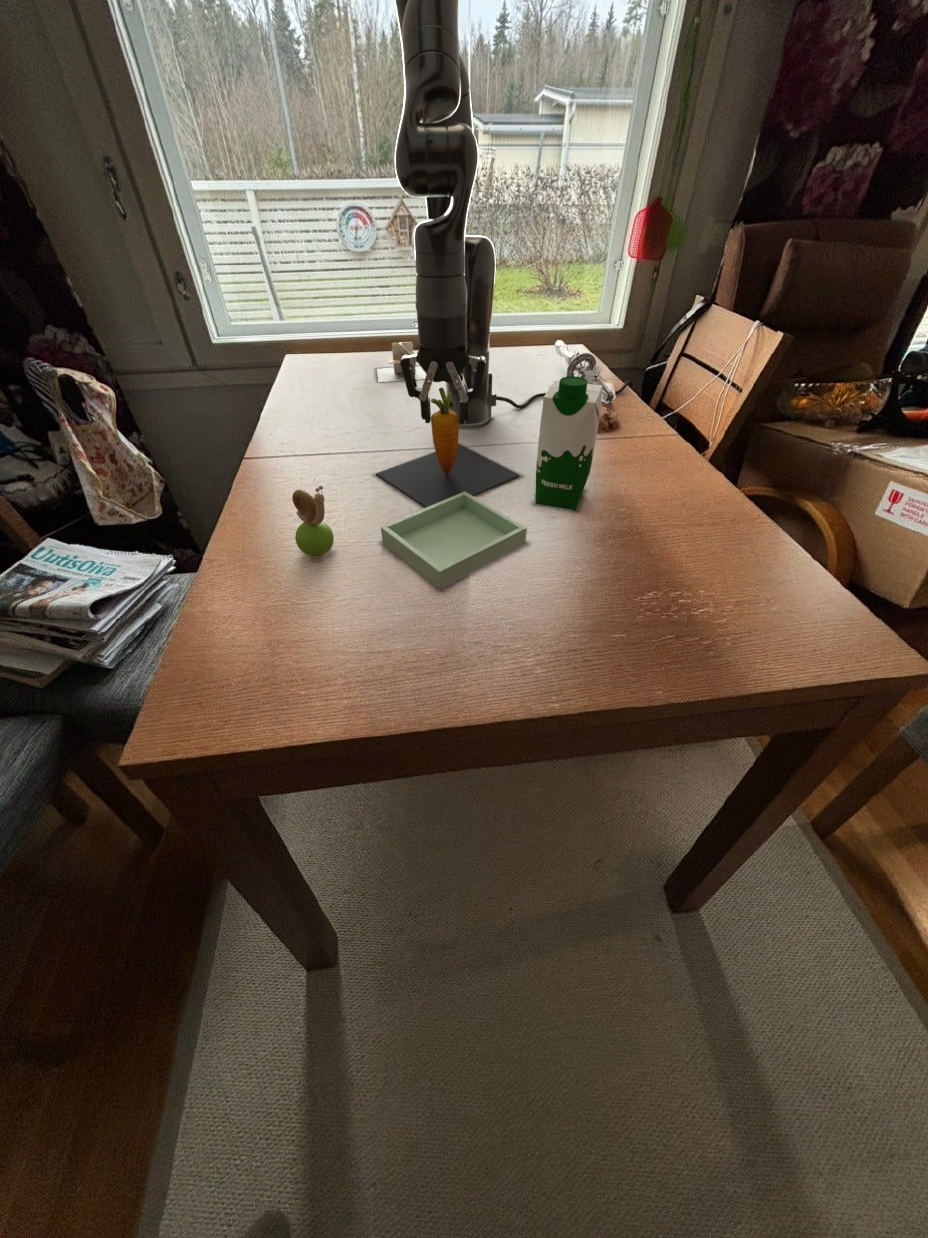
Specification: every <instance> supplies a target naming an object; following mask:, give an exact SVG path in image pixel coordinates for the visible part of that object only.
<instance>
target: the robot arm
mask: <svg viewBox="0 0 928 1238" xmlns="http://www.w3.org/2000/svg"><path fill="white" fill-rule="evenodd" d="M393 1H394V7H395V12H396V19H397V24H398V30H399V36H400V43H401V44H400V45H401V51H402V52H401V53H402V65H403V67H402V68H403V69H402V70H403V85H404V87H403V88H404V89H403V90H404V91H403V92H404V93H403V94H404V96H403V107H402V112H401V113H402V114H401V119H400V123H399V128H398V133H397V138H396V143H395V144H396V145H395V151H394V170H395V174H396V179H397V181H398V184H399V186H400V188H401V189H402V190H403V191H404V193H405V194H406V195H408V196H409V197H412V198H424V199H425V207H426V215H427V220H423V221H421V222H419V223H418V224H417V225H415V228H414V231H413V243H414V246H413V247H414V262H415V273H416V274H415V310H416V321H417V322H416V323H417V337H418V350H417V353H416V354H414V355H411V356H409V355H407V354H406V355H404V356H403V357H402V359H401V361H400V364H401V368H402V372H403V376H404V379H405V380H404V382H405V383H404V384H405V387H406V390H407V394H408V397H410V398H416V399H418V400H419V403H420V417H421V419H422V420H423V421H424V423H425V424H431V416H432V413H431V412H432V411H431V397H429V393H430V390H431V387H432V385H433V383H441V382H445V394H446V397H448V393H451V403H450V407H449V410H451V411H454V412H455V413H456V414H457V416H458V419H459V428H475V427H479V426H482V425H485V424H487V422H488V421H489V420H490V419H492V407H496V406H497V401H500V402H501V401H502V402H505V403H508V404H510V405H511V406H512V407H514V408H515V409H524V408H526V407H527V406H529V404H530V403H531V402H533V400H535V399H537V398H544V396H545V394H546V393H547V392H540V393H537V394H534V395H532V396H531V397H530V398H529V399H527V401H526V402H524V403H522V404H518V403H516V402H515V401H513V399H510V398H508V397H503V396H497V394H496V393H495V392H493V373H492V372H490V341H491V339H490V337H491V334H490V333H491V323H492V320H493V319H492V318H493V312H494V311H493V310H494V293H495V292H494V291H495V279H496V253H495V248H494V244H493V242H492V241H491V240H490V238H488V237H486V236H483V235H472V234H471V235H469V234H466V229H467V220H468V213H469V207H470V202H471V197H472V194H473V189H474V186H475V181H476V177H477V172H478V171H477V170H478V167H479V146H478V142H477V138H476V136H475V134H474V119H473V110H472V109H473V108H472V97H471V88H470V87H471V86H470V77H469V73H468V70H467V67H466V65H465V62H464V60H463V58H462V56H461V54H460V46H459V45H460V44H459V0H393ZM417 363H418V366H421V368H422V369H423V370H424V372H425V373H426V374H427V375H426V378H425V379H424V381H423V384H422V387H419V386H418V383H417V380H415V375H414V371H413V370H414V369H415V367H416V366H417ZM628 385H629V386H630V387H632V386H634V383H633V382H632V380H630V379H629V380H626V381H625V383H624V384H623V385H622V386H621V387H620V388H619V389H618V390H614V391H615V396H617V395H619V394H621V393H622V392H623V391H624V390H625V389H626V388H627V386H628Z"/></svg>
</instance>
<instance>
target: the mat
mask: <svg viewBox="0 0 928 1238" xmlns="http://www.w3.org/2000/svg"><path fill="white" fill-rule="evenodd" d="M375 476H376V477H378V478H379V479H381V480H383V481H384V482H385V483H387V484H388V485H390V486H391V487H393V488H395V489H396V490H398V491H399V492H401V493H402V494H404V495H405V496H407V497H408V498H409V499H411V500H412V501H415V503H417V504H418V505H420V506H422V507H424V508H427V507H429V506H431V505H434V504H436V503H438V502H441V501H443V500H446V499H448V498H450V497H453V496H455V495H457V494H460V493H462V492H467V493H468V494H470V495H472V496H473V497H477V496H478V495H481V494H483V493H486V492H488V491H490V490H492V489H495V488H496V487H499V486H501V485H504V484H506V483H509V482H511V481H513V480H516V479H518V478H520V474H519V473H517V472H515V471H513V470H511V469H509V468H507V467H505V466H503V465H501V464H500V463H497V462H495V461H494V460H491V459H489V458H488V457H486V456H483V455H481V454H480V453H478V452H475V451H474V450H473V449H470V448H468V447H466V446H464V445H463V444H460V443H458V449H457V455H456V459H455V462H454V465H453V467H452V469H451V471H450V472H449V473H448V474H445V473H444V472H443V470H442V468H441V466H440V464H439V462H438V459H437V456H436V452H435V451H434V452H431V453H428V454H426V455H423V456H420V457H417V458H415V459H412V460H409V461H406V462H404V463H401V464H398V465H395V466H393V467H390V468H387V469H384V470H382V471H379V472H376V473H375Z"/></svg>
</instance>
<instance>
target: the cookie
mask: <svg viewBox="0 0 928 1238" xmlns="http://www.w3.org/2000/svg"><path fill="white" fill-rule="evenodd" d="M618 417H619V415H618V412H616V411H613V410H609V411H608V409H607V407H605V406H602V405H601V415H600V417H599V424H598V431H607V432H608V431H611V430H613V429H616V428H617V427H619V418H618Z"/></svg>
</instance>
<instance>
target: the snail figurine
mask: <svg viewBox="0 0 928 1238" xmlns="http://www.w3.org/2000/svg"><path fill="white" fill-rule="evenodd" d="M323 489H324V487H323V485H319V486H318V487H316V488H315V492H316V493H315V494H314V496H313V495H312V494H311V493H310V492H308V491H306V490H305V489H301V488H300V489H296V490H294V492H293V493H292V497H291V500H292V503H293V506H294V507H295V509H296V512H295V513H296V515H297V516H298V518H299V519H300V520H301V521H302V523H301V524H300V525H299V526H298V527H297V529H296V531H295V543H296V546H297V548H298V549H299V550H300V551H301V552H302V553H303V554H304V555H307V556H310V557H322V556H324V555H325V554H327V553H328V552H330V550H331V549H332V547H333V545H334V540H335V538H334V533H333V530H332V528H331V527H330V526H329V525H328V524H327V523H326V522H324V520H325V513H326V512H325V511H326V510H325V496H324V495H323ZM320 491H321V492H320Z"/></svg>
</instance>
